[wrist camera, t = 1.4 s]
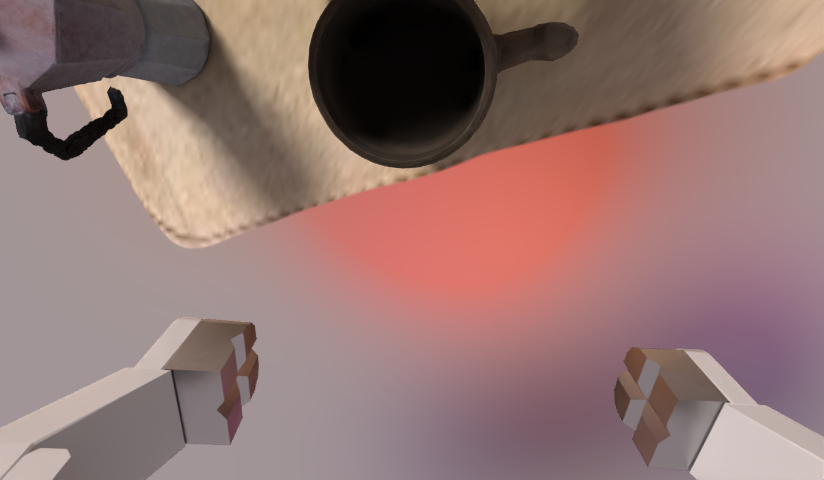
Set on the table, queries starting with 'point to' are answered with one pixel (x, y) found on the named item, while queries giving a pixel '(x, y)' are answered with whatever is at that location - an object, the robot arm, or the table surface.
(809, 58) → the table surface
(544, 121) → the table surface
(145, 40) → the moka pot
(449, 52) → the beer stein
